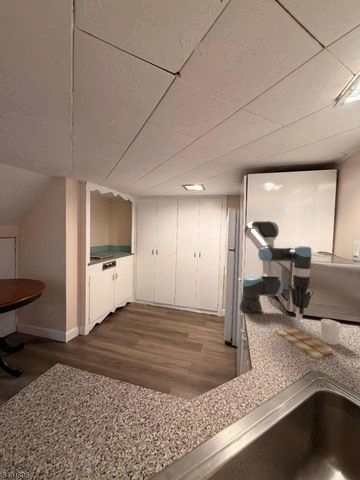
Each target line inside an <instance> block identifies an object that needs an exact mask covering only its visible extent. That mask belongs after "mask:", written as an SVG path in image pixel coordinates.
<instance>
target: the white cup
mask: <svg viewBox="0 0 360 480" xmlns="http://www.w3.org/2000/svg"><path fill="white" fill-rule="evenodd" d="M340 331H341V323H340V322H339V321H336V320H334V319H333V320H332V319H329V318H322V319H321V320H320V332H321V340H322V342H324V343H325V344H327V345H332V346H336V345H338V344H339V340H340V339H339V338H340Z"/></svg>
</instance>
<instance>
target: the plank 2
mask: <svg viewBox="0 0 360 480" xmlns="http://www.w3.org/2000/svg"><path fill="white" fill-rule="evenodd" d="M302 342H303V343H304V344H306V345H308V346H309V347H311V348H313V349H314V350H316V351H318V352H319V353H321V354H323V356H327V355H330V354H333V353H334V352H335V351H334V349H333V348H331V347H329V346H327V345H325V344H324V343H322V342H320V341H318V340H316V339H314V338H312V337H310V338H309V339H306V340H303V341H302Z"/></svg>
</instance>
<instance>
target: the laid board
mask: <svg viewBox="0 0 360 480" xmlns="http://www.w3.org/2000/svg"><path fill="white" fill-rule="evenodd" d="M274 333H275V334H277V335H279V336H280V337H282V338H283V339H285V340H287V341H288V342H289V343H291V344H293V345H294V346H295V347H297V348H299V349H300V350H302V351H303V352H304V353H306V354H308V355H310V356H311V357H312V358H314V359H321V358H324V356H323V354H321V353H319V352H318V351H316V350H314V349H313V348H311V347H309V346H308V345H306V344H304V343H303V342H301V341H300V340H298V339H296V338H295V337H293V336H291V335H290V334H288V333H286V332H285V331H284V329H283V330H282V329H276V330H275V332H274Z"/></svg>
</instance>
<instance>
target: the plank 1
mask: <svg viewBox="0 0 360 480" xmlns="http://www.w3.org/2000/svg"><path fill="white" fill-rule="evenodd" d="M283 331H285V332H286V333H288V334H290V335H291V336H293V337H295V338H296V339H298V340H300V341H301V342H302V341H303V340H306V339H309V338H311V336H309V335H307V334H305V333H304V332H301V331H299V330H298V329H296V328H294V327H293V326H292V327H288V328H284V329H283Z"/></svg>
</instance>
